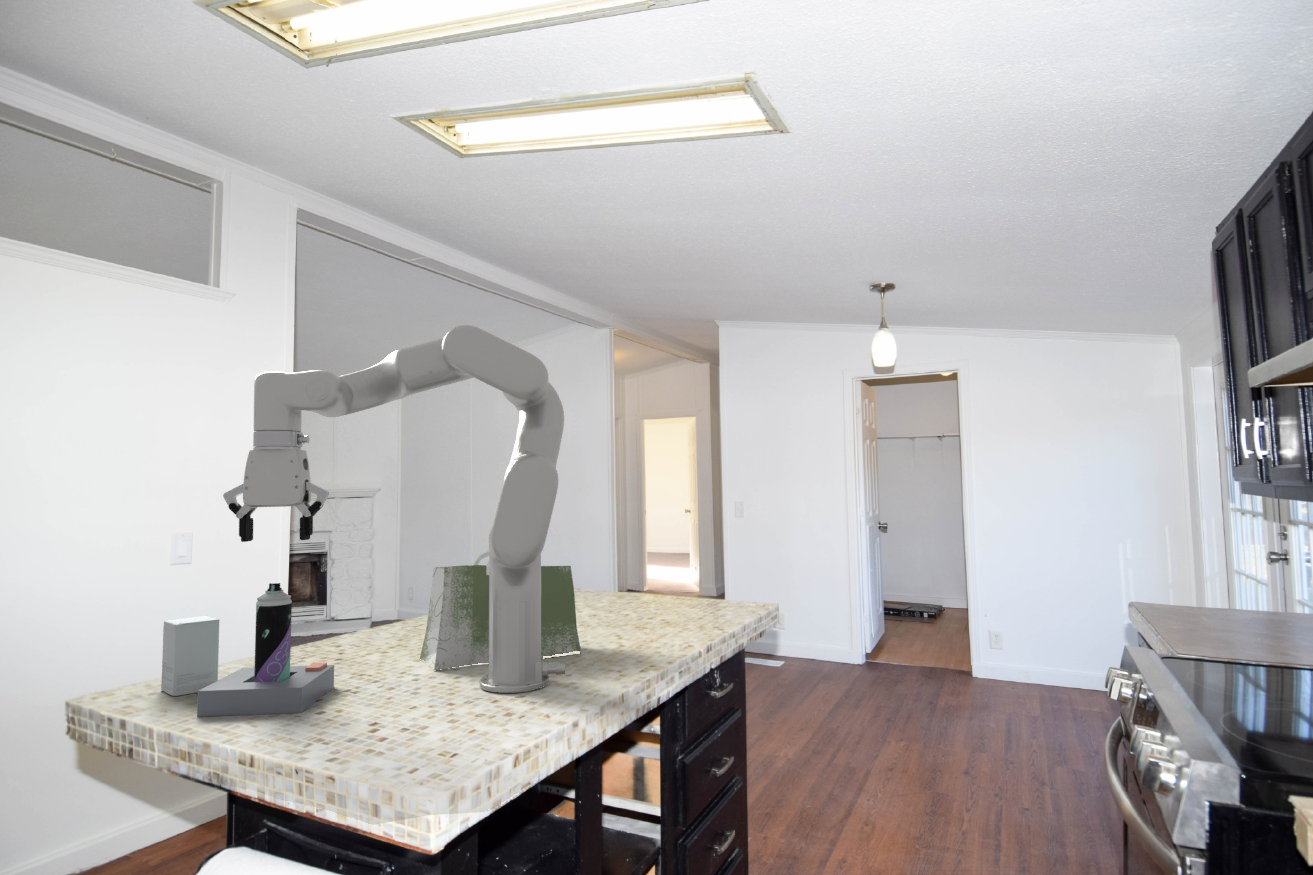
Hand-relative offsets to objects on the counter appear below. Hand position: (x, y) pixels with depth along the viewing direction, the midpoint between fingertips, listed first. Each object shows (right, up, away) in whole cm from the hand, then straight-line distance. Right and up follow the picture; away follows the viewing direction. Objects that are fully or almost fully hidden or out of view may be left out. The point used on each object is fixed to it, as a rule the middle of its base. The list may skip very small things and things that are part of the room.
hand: (276, 540), depth 130 cm
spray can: (0, -27, -2) cm, 28 cm away
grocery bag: (+33, -30, +31) cm, 54 cm away
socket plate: (0, -27, -2) cm, 27 cm away
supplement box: (-19, -28, +6) cm, 35 cm away
